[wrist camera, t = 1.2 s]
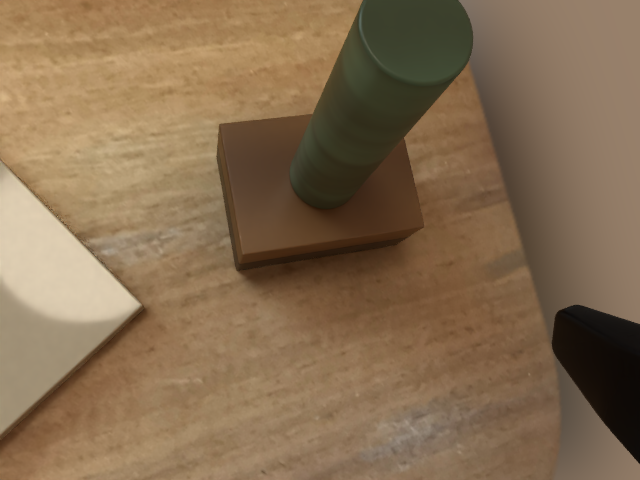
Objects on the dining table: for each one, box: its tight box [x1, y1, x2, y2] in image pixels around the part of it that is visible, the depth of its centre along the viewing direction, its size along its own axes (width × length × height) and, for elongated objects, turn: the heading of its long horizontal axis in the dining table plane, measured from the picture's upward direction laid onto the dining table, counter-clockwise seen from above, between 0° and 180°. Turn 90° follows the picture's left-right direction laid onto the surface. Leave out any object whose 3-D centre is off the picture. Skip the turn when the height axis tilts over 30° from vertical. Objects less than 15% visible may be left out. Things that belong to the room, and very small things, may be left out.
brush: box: [217, 0, 473, 271], centre depth 19 cm, size 5×7×13 cm
